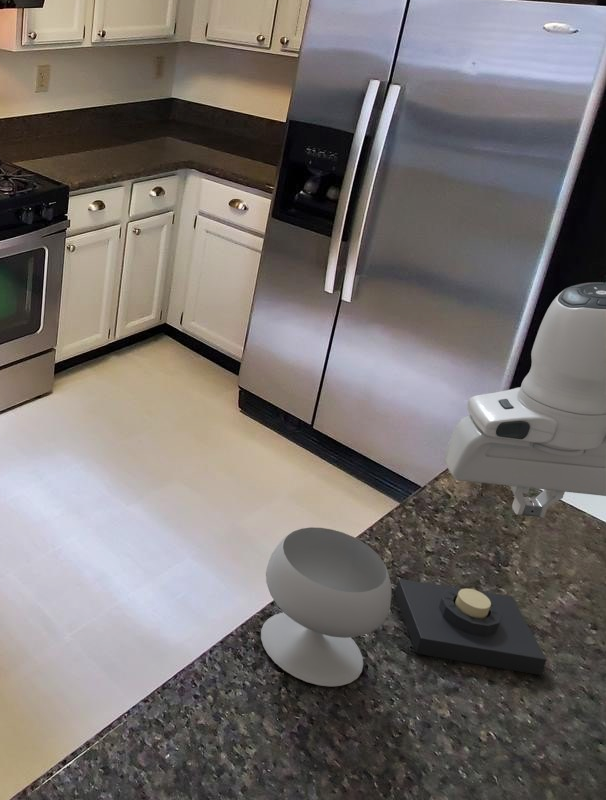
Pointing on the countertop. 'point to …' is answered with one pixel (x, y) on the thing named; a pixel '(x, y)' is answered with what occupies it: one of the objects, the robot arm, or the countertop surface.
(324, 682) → the chalice
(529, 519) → the countertop surface
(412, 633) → the push button plate
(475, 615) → the push button switch
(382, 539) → the countertop surface
